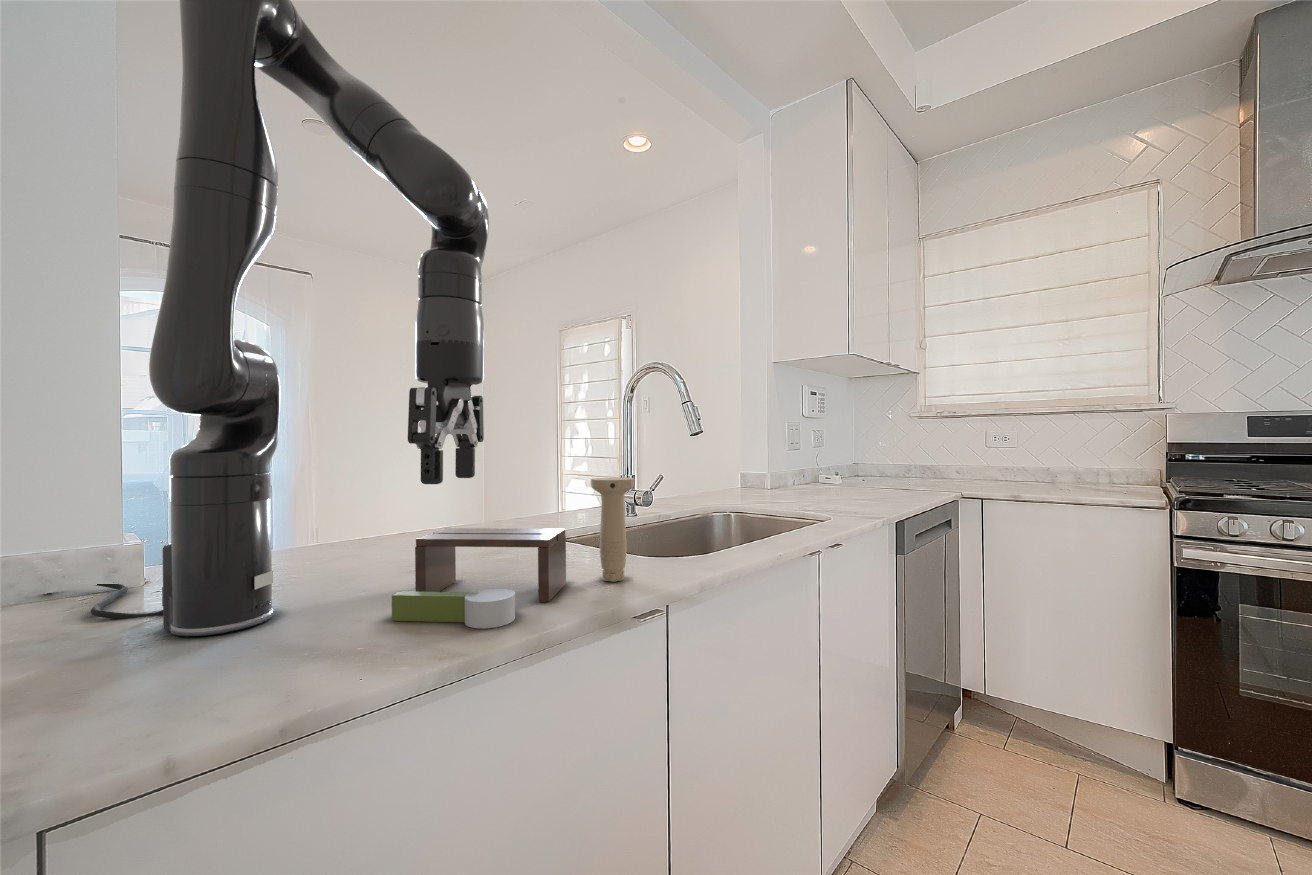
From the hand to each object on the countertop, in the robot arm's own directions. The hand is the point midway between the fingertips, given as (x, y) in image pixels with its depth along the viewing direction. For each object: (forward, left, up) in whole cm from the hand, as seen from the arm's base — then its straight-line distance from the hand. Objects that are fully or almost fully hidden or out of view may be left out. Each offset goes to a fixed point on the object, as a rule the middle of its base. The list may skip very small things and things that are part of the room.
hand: (449, 480), depth 65 cm
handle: (+16, +19, -17) cm, 30 cm away
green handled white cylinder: (0, 0, -16) cm, 16 cm away
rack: (+1, +12, -16) cm, 20 cm away
